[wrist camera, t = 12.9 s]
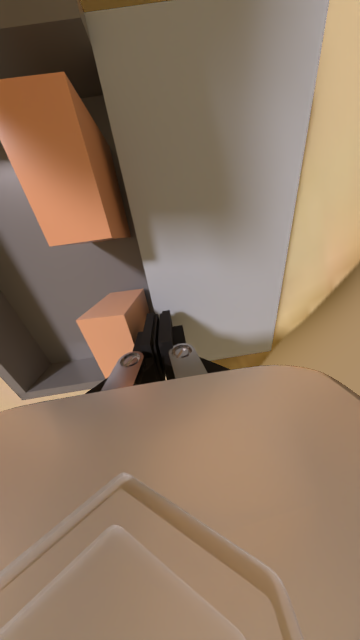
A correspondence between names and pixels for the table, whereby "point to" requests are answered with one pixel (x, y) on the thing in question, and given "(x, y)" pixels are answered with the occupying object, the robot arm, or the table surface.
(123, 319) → the tile
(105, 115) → the tray
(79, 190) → the orange block
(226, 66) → the grey sliding lid
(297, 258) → the table surface
